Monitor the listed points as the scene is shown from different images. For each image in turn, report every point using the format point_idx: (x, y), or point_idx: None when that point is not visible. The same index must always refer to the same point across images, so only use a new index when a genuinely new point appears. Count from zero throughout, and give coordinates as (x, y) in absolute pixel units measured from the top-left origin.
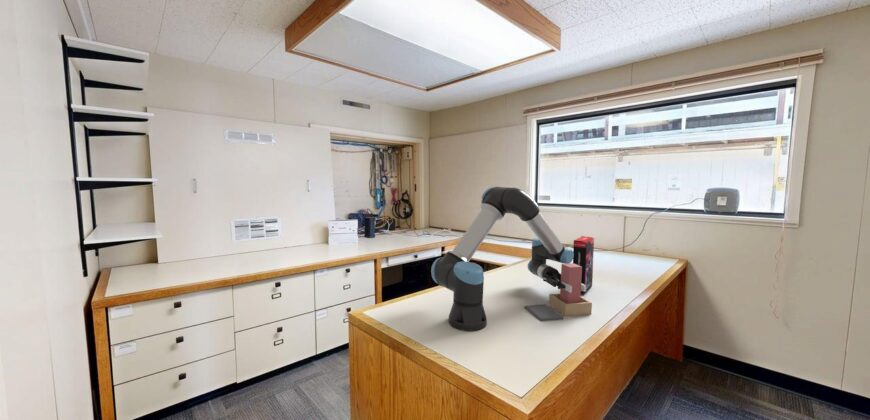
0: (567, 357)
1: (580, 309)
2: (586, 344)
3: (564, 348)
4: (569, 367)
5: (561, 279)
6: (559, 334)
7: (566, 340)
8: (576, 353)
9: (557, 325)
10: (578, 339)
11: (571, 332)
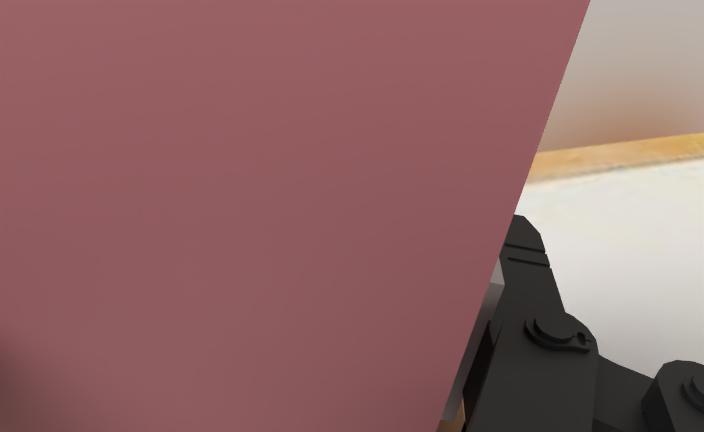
0: (676, 160)
1: None
2: (531, 170)
3: (668, 190)
4: (688, 137)
5: (469, 293)
6: (652, 263)
7: (629, 218)
8: (622, 159)
9: (622, 342)
10: (549, 202)
11: (552, 251)
